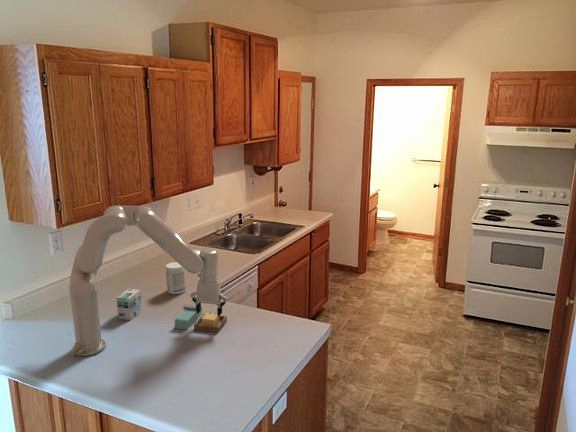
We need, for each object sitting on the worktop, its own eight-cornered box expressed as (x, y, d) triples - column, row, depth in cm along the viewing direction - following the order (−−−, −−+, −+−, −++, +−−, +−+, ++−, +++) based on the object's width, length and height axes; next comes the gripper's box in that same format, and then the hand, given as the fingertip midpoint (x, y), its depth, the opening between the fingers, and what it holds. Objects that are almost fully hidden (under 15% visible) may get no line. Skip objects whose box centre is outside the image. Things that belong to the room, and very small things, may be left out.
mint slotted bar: (189, 329, 204) (188, 319, 202) (173, 327, 205) (172, 317, 204) (203, 313, 219) (203, 303, 217) (188, 312, 220) (188, 301, 219)
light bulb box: (131, 320, 211) (129, 298, 209) (117, 319, 213) (115, 297, 210) (142, 310, 221) (141, 289, 219) (129, 308, 223) (128, 288, 220)
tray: (218, 332, 201) (218, 327, 201) (194, 329, 204) (194, 324, 203) (226, 321, 212) (226, 316, 211) (204, 318, 214) (203, 313, 214)
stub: (214, 328, 204) (214, 319, 203) (201, 326, 205) (201, 318, 204) (219, 322, 210) (219, 313, 209) (206, 320, 211) (206, 312, 210)
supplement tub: (188, 288, 247) (187, 262, 244) (181, 295, 238) (180, 268, 234) (171, 286, 249) (170, 261, 245) (163, 294, 240) (162, 267, 236)
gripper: (186, 278, 200) (187, 314, 204) (224, 283, 197) (224, 319, 201) (194, 272, 207) (194, 307, 211) (230, 276, 204) (230, 312, 208)
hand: (209, 313), depth 206 cm, fingers open, 9 cm apart
